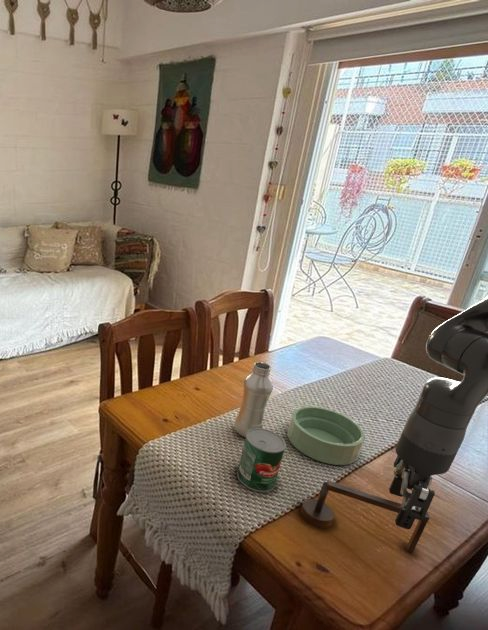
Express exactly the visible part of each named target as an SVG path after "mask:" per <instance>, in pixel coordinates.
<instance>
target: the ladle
mask: <svg viewBox="0 0 488 630" xmlns="http://www.w3.org/2000/svg"><path fill="white" fill-rule="evenodd" d="M321 485H322V486H321V489H320V492H319V494H318V498H317V499H316V498H306V499H305V500H303V502H302V504H301V507H300V515H301V517H302V518H303V519H304V520H305V521H306V522H307V523H308V524H310V525H312V526H313V527H316V528H319V529H326V528H329V527H331V526H332V524H333V521H334V519H335V513H334V511H333V508H331V507H330V506H329V505H328V504H327V503H325V502H326V499H327V497H328V493H329V491H331V492H333V493H336V494H339V495H342V496H345V497H349V498H352V499H355V500H357V501H361V502H364V503H367V504H369V505H373V506H375V507H378V508H382V509H385V510H388V511H391V512H393V513H397V514H398V513H399V510H400V508H401V505H402V503H400V502H397V501H394V500H390V499H387V498H384V497H381V496H378V495H375V494H372V493H369V492H366V491H363V490H359V489H356V488H354V487H351V486H347V485H345V484H341V483H339V482H335V481H332V480H329V479H327V480H326V481H323V483H322V484H321ZM415 520H417V522H416V525H415V528H414V530H413V532H412V534H411V536H410V539H409V540H408V542H407V545H406V551H407V552H408V553H411V554H413V553H414V551H415V549H416V547H417V545H418V543H419V541H420V538H421V537H422V534H423V532H424V530H425V528H426V526H427V524H428V523H429V520H430V514H429V512H428V511H427V513H426V515H425V518H424V520H420V519H417V518H415Z"/></svg>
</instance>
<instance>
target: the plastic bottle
mask: <svg viewBox="0 0 488 630" xmlns="http://www.w3.org/2000/svg"><path fill="white" fill-rule="evenodd" d="M271 367H272V366H271V365H270V364H268V363H266V362H262V361H256V362H254V364H253V368H252V372H251V373H249V375H247V376H246V377H245V378H244V381H243V391H242V392H243V393H242V400H241V404H240V408H239V410H238V413H237V415H236V416H235V417H236V418H235V419H234V429H235V431H236V432H237V434H238V435H240V436H241V437H243V438H246V433H247V431H249V430H250V429H254V428H262V429H264V415H265V410H266V407H267V404H268V401H269V399H270V397H271V395H272V392H273V391H274V384H273V382H272V379H271V378H270V375H271V370H272V369H271Z"/></svg>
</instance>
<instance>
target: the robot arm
mask: <svg viewBox="0 0 488 630" xmlns="http://www.w3.org/2000/svg"><path fill="white" fill-rule="evenodd" d="M425 351H426V354H427V356H428V357H429V359H430V360H432V361H434V362H435V363H437V364H439V365H442V366H443V367H445V368H448V369H450V370H452V371H454V372H456V373H458V374H459V375H462V376H463V377H462V379H461V381H457V380H454V379H450V378H446V377H433V378H430V379H428V380H427V381H425V383H424V384H423V386H422V388H421V391H420V394H419V395H418V399H417V400H416V403H415V406H414V408H413V409H412V411H411V412H410V414H409V415H408V417H407V420H406V422H405V424H404V426H403V429H402V431H401V434H400V436H399V439H398V441H397V443H396V446H395V452H396V454H397V456H396V458H395V460H394V462H393V467H394V468H395V469H394V470H393V476H394V477H393V479H392V482H391V483H390V485H389V488H388V491H389V494H391V495H394V496H396V497H400V498H402V501H401V504H402V505H401V508H400V510H399V513H397V515H396V517H395V518H394V519H395V520H394V523H395V525H396V526H397V527H400V528H402V529H405V530H411V529H412V527H413V524H414V522H415V520H417V519H420V520H424V518H425V515H426V513H427V512H428V510H429V508H430V506H431V503H432V502H433V499H434V497H435V495H436V493H435V490H434V489H431V488H430V487H432V483H433V477H432V476H435V475H445V474H446V473H448V471H449V470H450V469H451V467H452V464H453V462H454V461H455V458H456V456H457V455H458V452H459V449H460V448H461V447H462V444H463V442H464V440H465V436H466V432H467V430H468V427H469V424H470V423H471V421H472V419H473V417H474V414H475V412H476V410H477V408H478V407H479V405H480V404H481V403H482V402H483V401H484V399H486V397H488V295H487V296H486V297H485V298H483V299H482V300H481V301H479V302H477V303H475V304H473V305H471V306H470V307H468V308H467V309H465V310H463V311H462V312H459V313H458V314H457V315H454V316H453V317H451V318H449V319H447V320H446V321H444V322H443V323H441V324H440V325H438V326H437V327H436V328H435V329H434V330H433V331H432V332H431V333H430V334H429V336H428V339H427V340H426V343H425ZM408 490H410V491H411V493H410V492H409V491H408ZM415 518H417V519H415Z"/></svg>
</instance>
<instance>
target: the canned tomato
mask: <svg viewBox="0 0 488 630" xmlns="http://www.w3.org/2000/svg"><path fill="white" fill-rule="evenodd" d="M286 446H287V445H286V441H285V440H284V439H283V437H282V436H281V435H279V434H278V433H277V432H274V431H273V430H270V429H267V428H263V429H262V428H254V429H250V430H249V431H247V433H246V437H244V442H243V446H242V452H241V455H240V456H241V457H240V460H239V466H238V470H237V472H236V476H237V479H238V480H239V482H240V483H241V485H243V486H245V487H246V488H247V489H250V490H252V491H254V492H258V493H269V492H271V491H273V490H274V489H275V487H276V483H277V479H278V476H279V472H280V467H281V464H282V461H283V457H284V453H285V449H286Z"/></svg>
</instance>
